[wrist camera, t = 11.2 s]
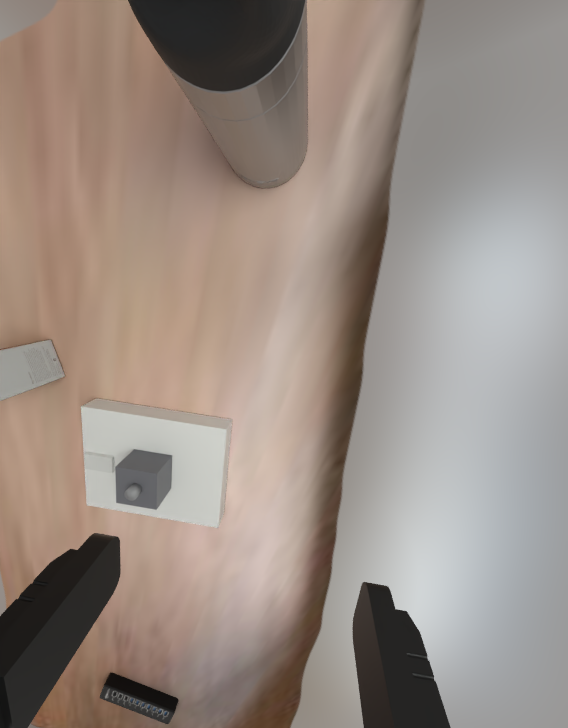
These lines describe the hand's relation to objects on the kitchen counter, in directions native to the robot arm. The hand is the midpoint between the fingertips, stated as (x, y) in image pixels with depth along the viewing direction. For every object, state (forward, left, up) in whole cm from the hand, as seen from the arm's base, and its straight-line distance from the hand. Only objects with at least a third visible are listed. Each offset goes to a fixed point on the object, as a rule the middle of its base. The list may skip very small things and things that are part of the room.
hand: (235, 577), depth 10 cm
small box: (+6, -36, -30) cm, 47 cm away
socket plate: (+18, -17, -30) cm, 39 cm away
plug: (+18, -17, -30) cm, 39 cm away
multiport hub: (+72, -20, -31) cm, 81 cm away
